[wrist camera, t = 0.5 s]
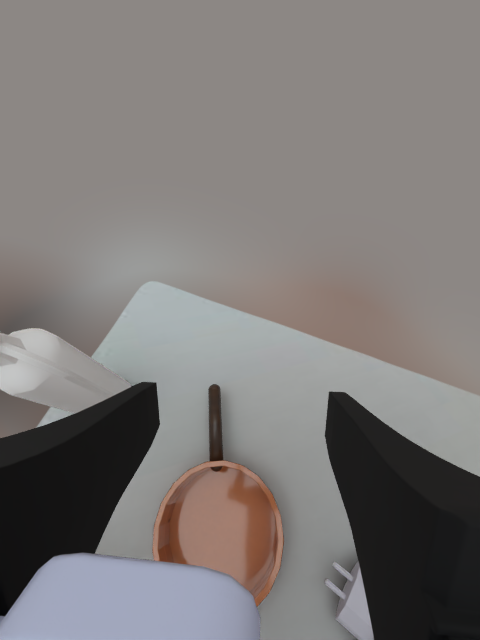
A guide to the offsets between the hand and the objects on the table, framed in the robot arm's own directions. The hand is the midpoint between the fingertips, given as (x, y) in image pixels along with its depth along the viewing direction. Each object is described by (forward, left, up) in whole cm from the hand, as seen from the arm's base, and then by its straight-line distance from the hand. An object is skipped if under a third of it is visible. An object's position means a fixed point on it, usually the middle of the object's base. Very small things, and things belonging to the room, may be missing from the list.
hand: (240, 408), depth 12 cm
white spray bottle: (+9, +20, -30) cm, 37 cm away
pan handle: (+4, +5, -27) cm, 27 cm away
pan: (-7, +5, -29) cm, 31 cm away
